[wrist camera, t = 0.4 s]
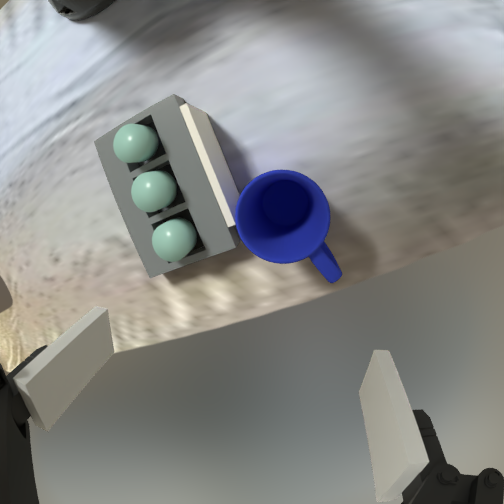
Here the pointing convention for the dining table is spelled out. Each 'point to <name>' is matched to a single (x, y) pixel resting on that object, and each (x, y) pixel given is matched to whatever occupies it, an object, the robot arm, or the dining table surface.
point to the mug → (286, 220)
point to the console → (188, 178)
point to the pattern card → (212, 160)
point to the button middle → (153, 190)
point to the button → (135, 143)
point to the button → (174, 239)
